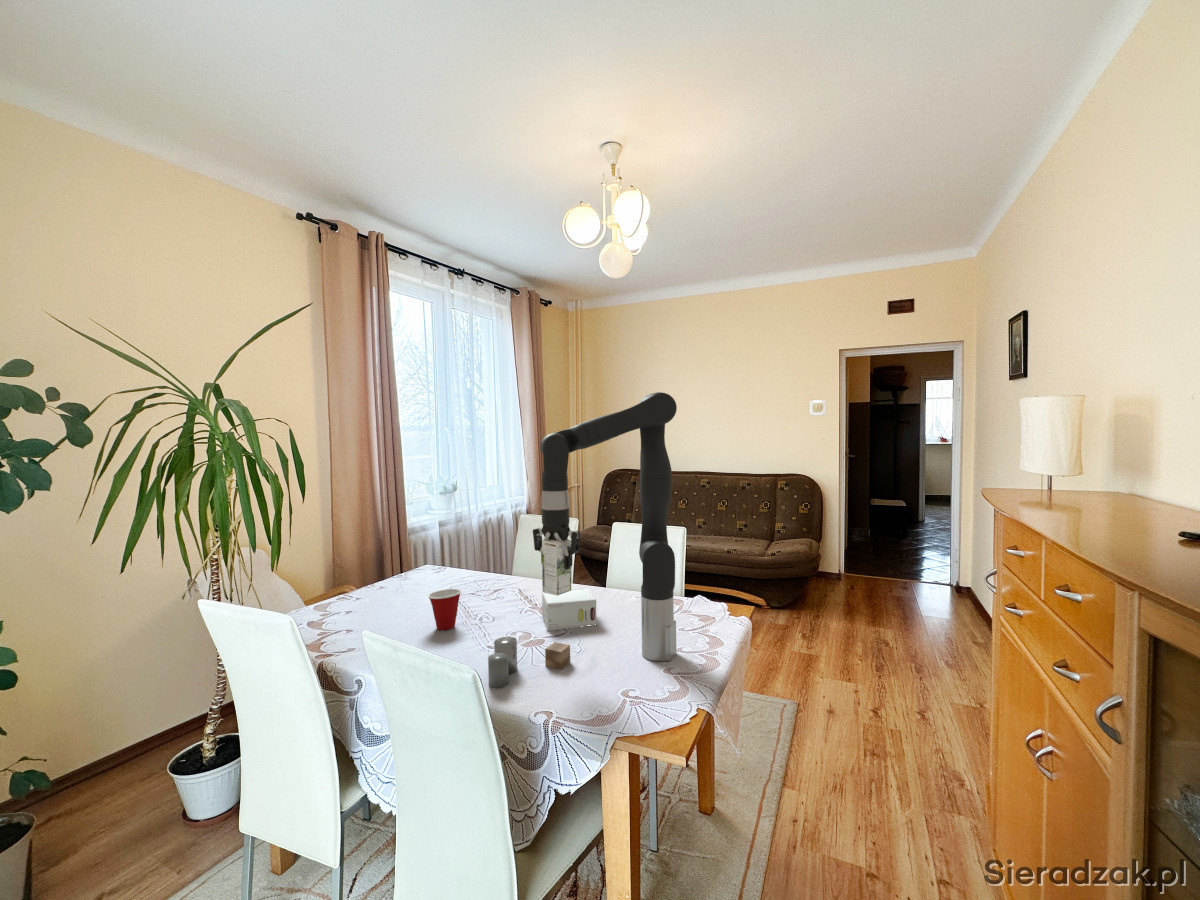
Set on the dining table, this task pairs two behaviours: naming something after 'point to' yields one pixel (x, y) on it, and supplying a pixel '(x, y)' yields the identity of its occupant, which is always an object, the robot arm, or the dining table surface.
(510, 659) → the dark metal tin
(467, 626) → the dining table surface
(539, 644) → the dining table surface
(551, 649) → the walnut block
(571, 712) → the dining table surface
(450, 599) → the plastic cup
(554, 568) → the syrup box
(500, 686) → the charcoal plastic canister
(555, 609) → the supplement box
